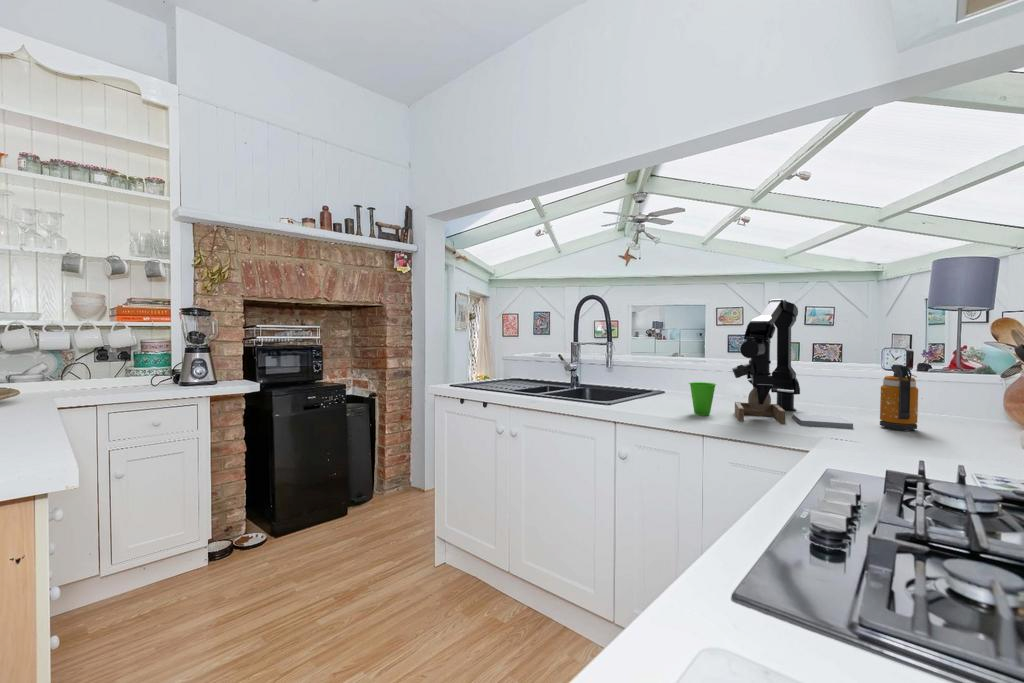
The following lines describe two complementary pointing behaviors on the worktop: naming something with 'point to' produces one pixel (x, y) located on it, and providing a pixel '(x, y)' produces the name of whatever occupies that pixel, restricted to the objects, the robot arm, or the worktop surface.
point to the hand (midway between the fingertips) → (759, 402)
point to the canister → (899, 400)
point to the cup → (702, 397)
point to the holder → (773, 411)
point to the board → (821, 420)
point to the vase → (755, 403)
